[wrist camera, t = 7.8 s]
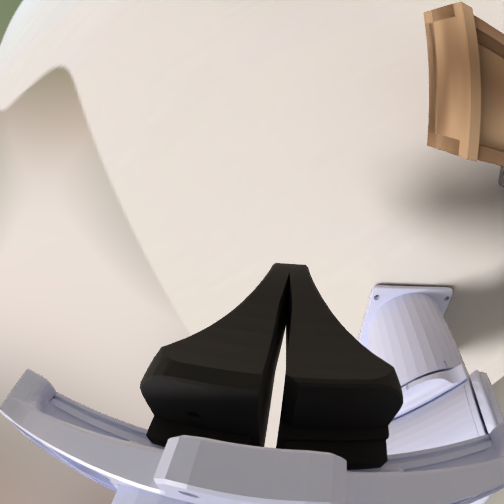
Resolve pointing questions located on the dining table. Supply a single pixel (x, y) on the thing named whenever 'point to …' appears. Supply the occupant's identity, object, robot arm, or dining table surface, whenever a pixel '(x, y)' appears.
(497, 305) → the dining table surface
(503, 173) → the chute stand
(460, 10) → the tipping chute
